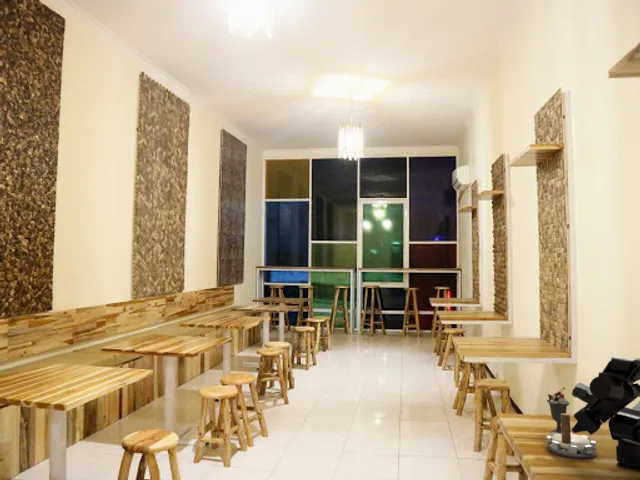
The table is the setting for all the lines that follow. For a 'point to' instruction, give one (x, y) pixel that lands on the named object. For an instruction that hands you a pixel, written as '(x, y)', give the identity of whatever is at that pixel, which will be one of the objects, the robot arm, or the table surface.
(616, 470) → the table surface
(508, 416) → the table surface
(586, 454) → the dial plate
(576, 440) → the dial
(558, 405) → the sundae
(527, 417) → the table surface
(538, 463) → the table surface
